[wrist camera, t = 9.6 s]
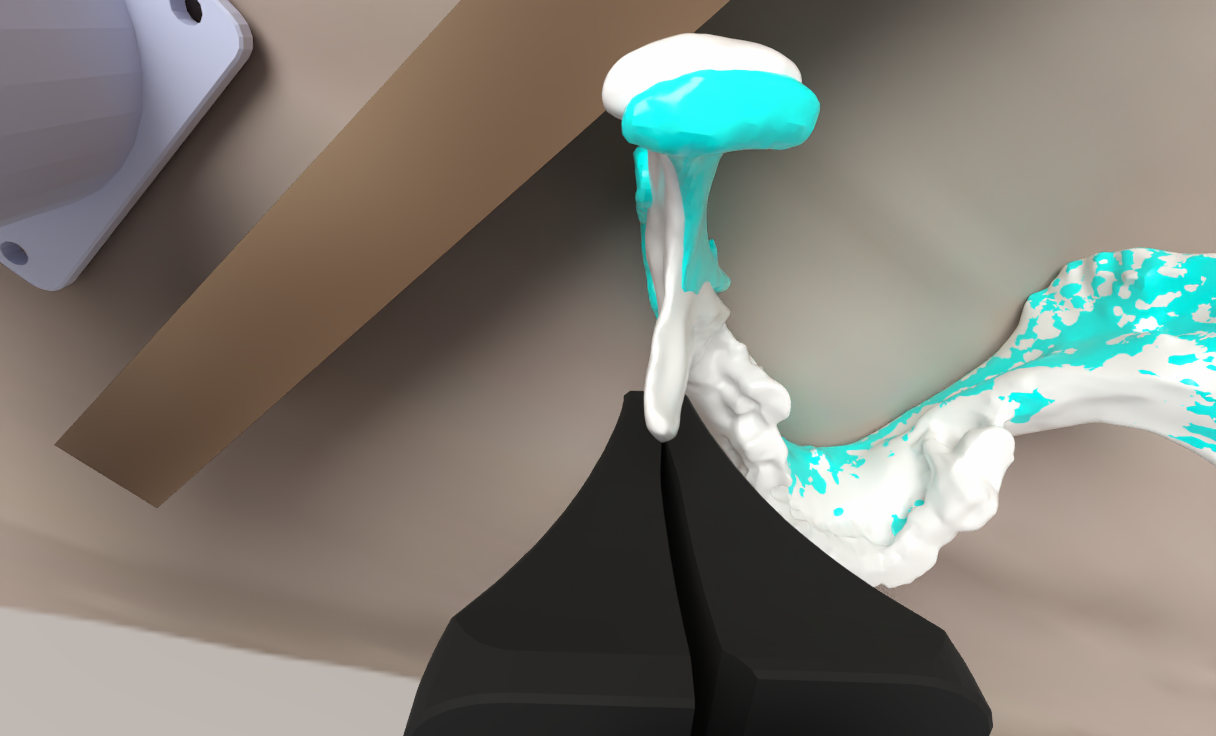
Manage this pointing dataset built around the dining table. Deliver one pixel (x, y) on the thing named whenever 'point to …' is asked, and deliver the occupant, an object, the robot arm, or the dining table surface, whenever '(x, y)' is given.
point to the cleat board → (366, 223)
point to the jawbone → (940, 426)
